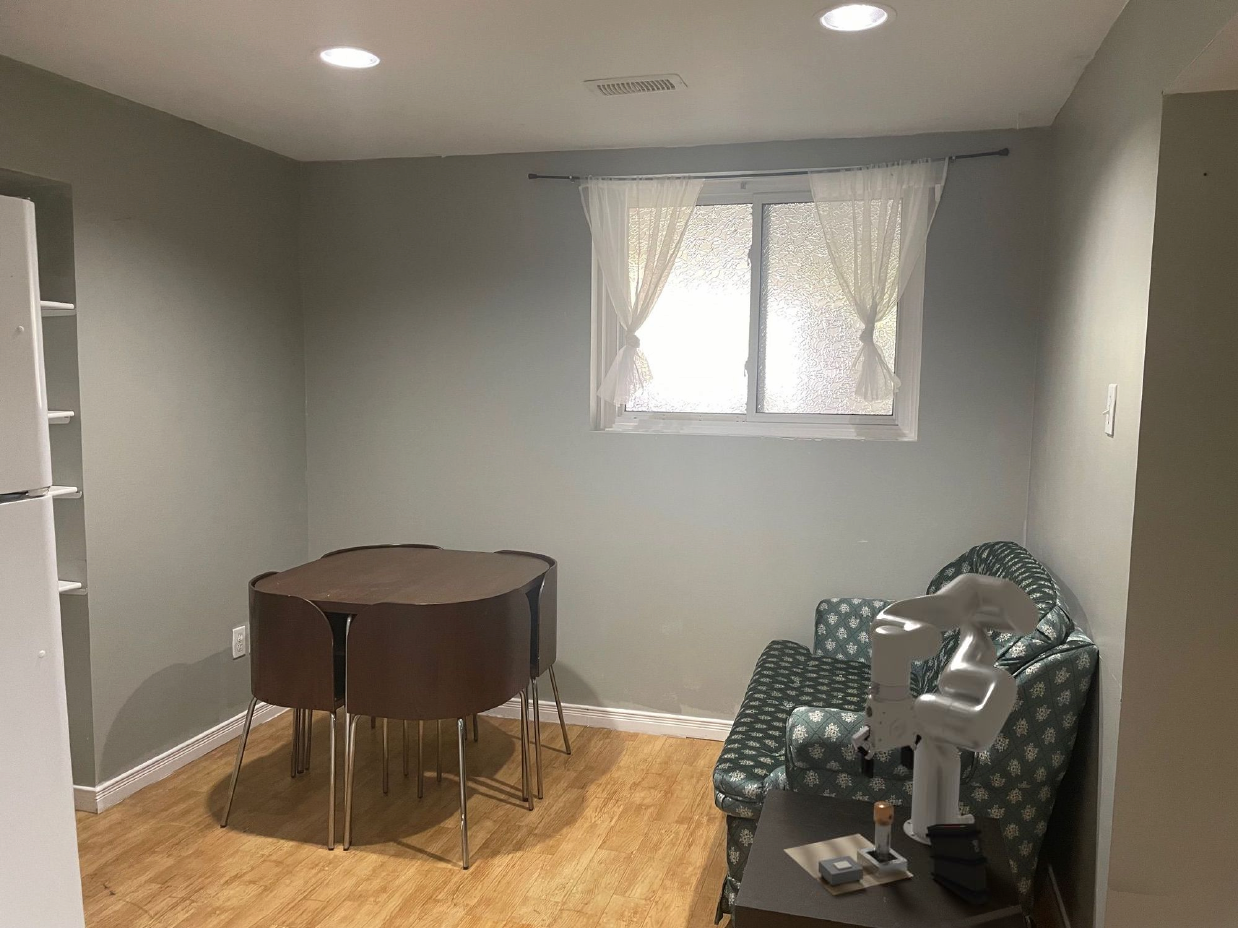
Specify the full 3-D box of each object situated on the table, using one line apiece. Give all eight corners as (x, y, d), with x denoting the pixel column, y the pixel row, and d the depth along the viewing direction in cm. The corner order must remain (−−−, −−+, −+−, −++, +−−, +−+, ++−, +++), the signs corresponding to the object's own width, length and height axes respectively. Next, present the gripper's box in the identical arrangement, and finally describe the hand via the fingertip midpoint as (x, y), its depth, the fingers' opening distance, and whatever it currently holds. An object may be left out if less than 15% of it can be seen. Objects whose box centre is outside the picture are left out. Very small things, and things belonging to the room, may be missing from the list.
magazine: (987, 911, 175) (964, 826, 180) (938, 907, 186) (917, 827, 191) (1002, 906, 177) (978, 822, 181) (952, 902, 188) (931, 823, 192)
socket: (884, 855, 196) (885, 843, 196) (906, 872, 190) (907, 860, 189) (856, 861, 193) (857, 850, 193) (878, 879, 187) (878, 867, 187)
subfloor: (858, 837, 205) (858, 833, 205) (913, 880, 189) (913, 875, 188) (783, 854, 198) (783, 849, 198) (833, 899, 181) (833, 894, 181)
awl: (883, 860, 194) (885, 799, 192) (895, 869, 191) (897, 808, 189) (868, 863, 193) (870, 803, 191) (879, 873, 189) (882, 811, 188)
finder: (848, 869, 190) (849, 853, 190) (862, 882, 186) (863, 866, 185) (818, 875, 188) (818, 859, 188) (831, 888, 183) (832, 872, 183)
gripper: (865, 701, 181) (862, 786, 183) (937, 689, 187) (934, 771, 189) (842, 688, 188) (839, 770, 190) (912, 677, 194) (909, 756, 196)
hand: (887, 771), depth 190 cm, fingers open, 9 cm apart
